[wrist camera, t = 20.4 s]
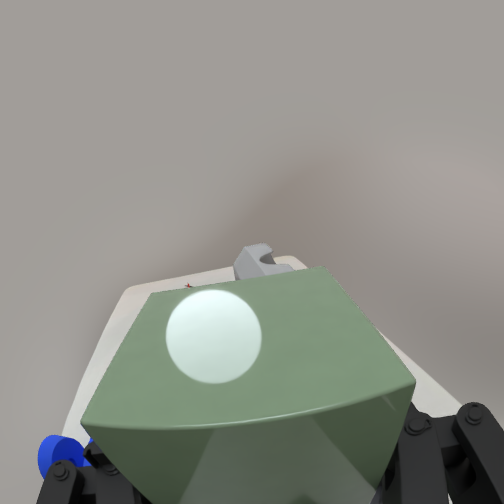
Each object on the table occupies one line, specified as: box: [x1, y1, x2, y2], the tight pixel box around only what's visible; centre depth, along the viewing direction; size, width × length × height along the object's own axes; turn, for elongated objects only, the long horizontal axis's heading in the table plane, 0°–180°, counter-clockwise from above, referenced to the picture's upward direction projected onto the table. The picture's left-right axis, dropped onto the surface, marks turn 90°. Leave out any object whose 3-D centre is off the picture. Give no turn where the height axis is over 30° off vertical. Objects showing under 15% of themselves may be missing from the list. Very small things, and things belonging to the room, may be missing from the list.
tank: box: [233, 243, 295, 280], centre depth 54 cm, size 25×16×12 cm, turn 12°
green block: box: [80, 266, 416, 504], centre depth 8 cm, size 6×6×12 cm
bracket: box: [38, 435, 93, 479], centre depth 24 cm, size 18×8×9 cm, turn 4°
